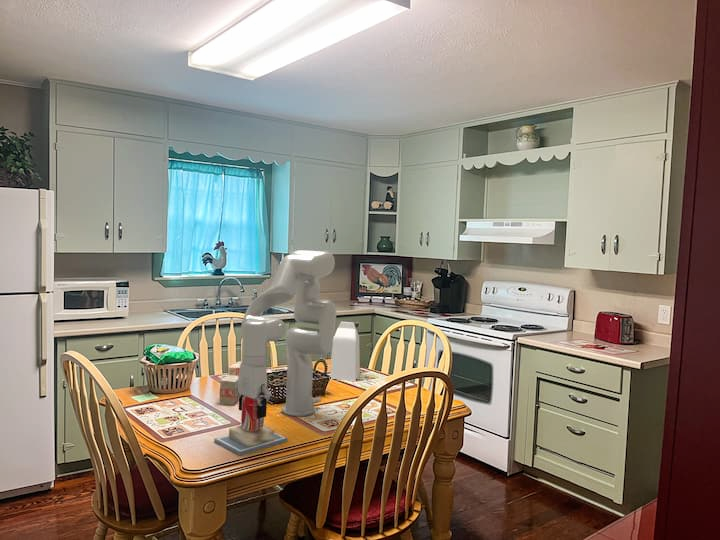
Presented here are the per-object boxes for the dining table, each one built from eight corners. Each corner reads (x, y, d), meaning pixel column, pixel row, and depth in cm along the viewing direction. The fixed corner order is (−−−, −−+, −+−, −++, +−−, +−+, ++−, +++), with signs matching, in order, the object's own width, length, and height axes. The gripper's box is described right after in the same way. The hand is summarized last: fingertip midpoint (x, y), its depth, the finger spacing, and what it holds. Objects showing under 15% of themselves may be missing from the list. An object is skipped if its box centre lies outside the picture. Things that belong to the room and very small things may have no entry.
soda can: (242, 425, 181) (243, 388, 180) (264, 425, 181) (266, 389, 180) (239, 433, 174) (240, 394, 173) (262, 433, 174) (264, 395, 173)
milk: (329, 379, 256) (331, 323, 254) (334, 373, 267) (337, 319, 266) (355, 381, 254) (357, 325, 252) (359, 375, 265) (362, 321, 264)
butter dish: (261, 429, 189) (261, 417, 189) (287, 441, 179) (288, 429, 179) (214, 441, 176) (214, 429, 176) (239, 455, 166) (240, 442, 166)
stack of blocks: (234, 405, 213) (235, 373, 212) (218, 404, 214) (219, 372, 213) (252, 390, 234) (253, 361, 233) (238, 389, 235) (239, 360, 234)
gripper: (228, 356, 179) (226, 408, 180) (260, 367, 167) (258, 423, 168) (247, 353, 184) (246, 404, 186) (280, 363, 173) (278, 418, 174)
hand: (252, 413), depth 177 cm, fingers open, 9 cm apart
